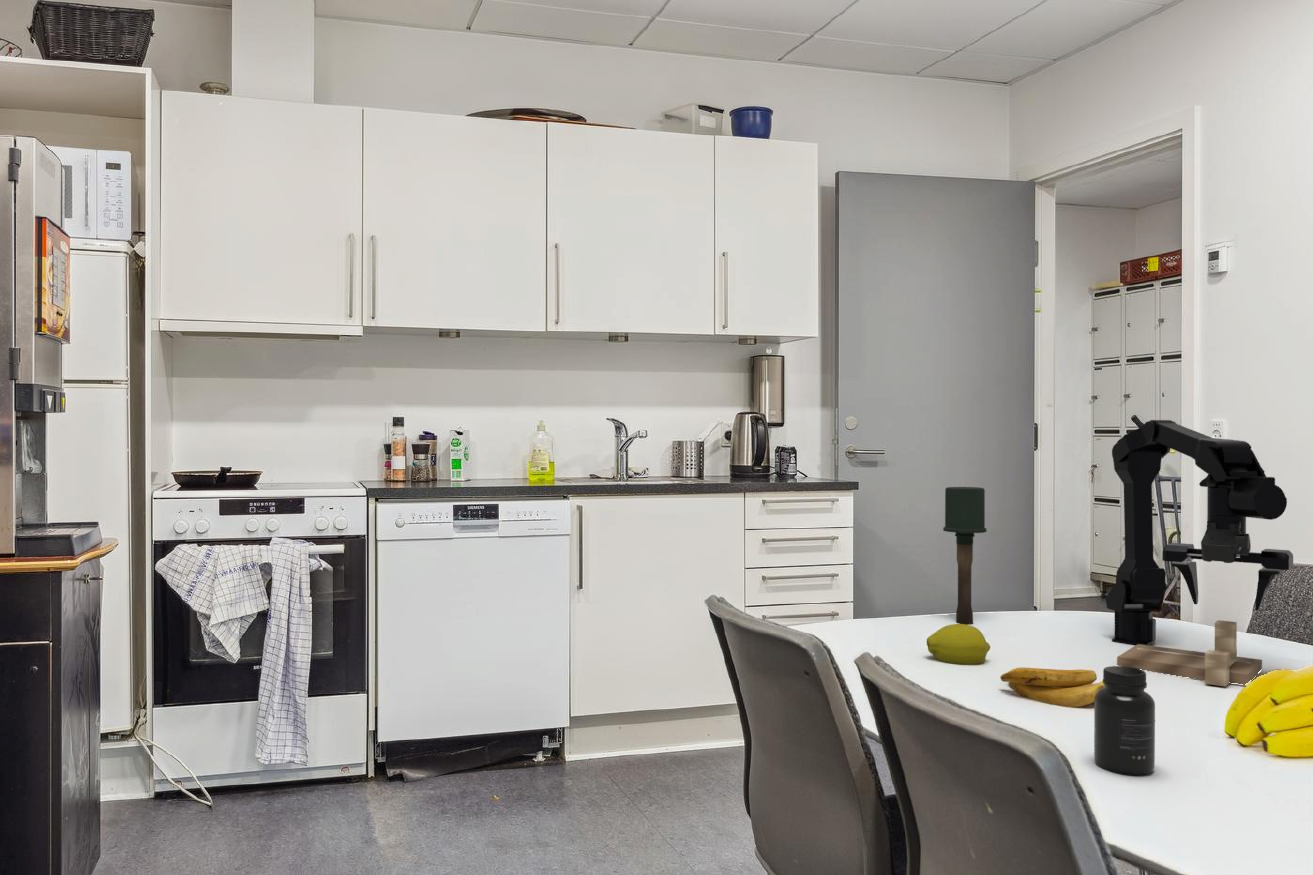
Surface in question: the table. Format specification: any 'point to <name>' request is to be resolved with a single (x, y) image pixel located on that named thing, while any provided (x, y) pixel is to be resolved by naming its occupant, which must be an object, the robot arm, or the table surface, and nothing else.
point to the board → (1184, 663)
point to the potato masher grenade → (964, 538)
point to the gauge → (1221, 654)
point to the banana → (1055, 685)
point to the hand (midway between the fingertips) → (1226, 606)
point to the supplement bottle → (1124, 722)
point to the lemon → (958, 645)
